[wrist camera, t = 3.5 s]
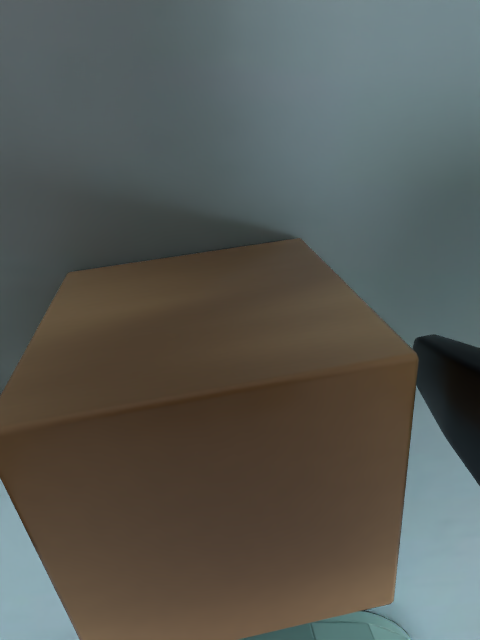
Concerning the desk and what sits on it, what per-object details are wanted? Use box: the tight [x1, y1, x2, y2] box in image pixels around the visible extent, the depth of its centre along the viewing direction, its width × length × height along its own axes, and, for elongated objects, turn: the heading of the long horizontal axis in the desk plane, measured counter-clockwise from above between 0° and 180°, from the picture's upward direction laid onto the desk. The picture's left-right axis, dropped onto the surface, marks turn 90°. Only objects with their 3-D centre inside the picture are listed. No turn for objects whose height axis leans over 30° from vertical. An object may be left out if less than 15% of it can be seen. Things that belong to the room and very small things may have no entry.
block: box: [0, 238, 419, 640], centre depth 8 cm, size 5×5×5 cm
